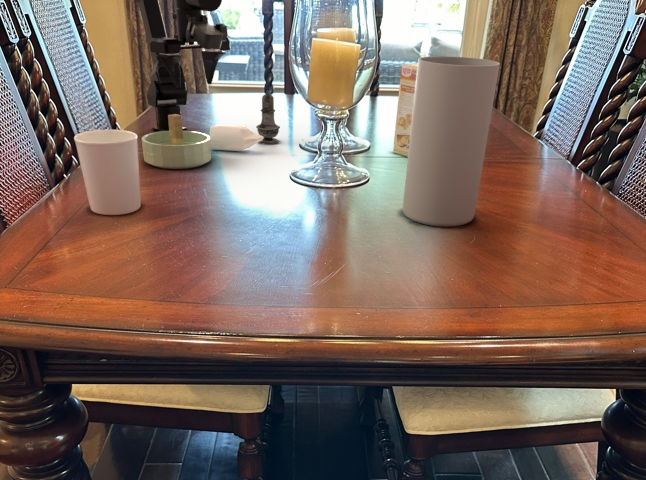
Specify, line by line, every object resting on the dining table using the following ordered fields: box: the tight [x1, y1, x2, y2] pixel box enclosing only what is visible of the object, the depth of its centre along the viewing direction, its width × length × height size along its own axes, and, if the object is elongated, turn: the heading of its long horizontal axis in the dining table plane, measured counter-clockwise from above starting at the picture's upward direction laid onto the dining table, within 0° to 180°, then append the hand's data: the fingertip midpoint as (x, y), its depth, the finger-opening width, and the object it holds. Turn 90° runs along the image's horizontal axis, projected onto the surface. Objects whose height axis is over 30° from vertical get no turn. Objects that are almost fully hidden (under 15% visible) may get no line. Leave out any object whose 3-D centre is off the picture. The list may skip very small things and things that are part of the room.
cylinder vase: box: [402, 55, 501, 228], centre depth 101 cm, size 12×12×25 cm
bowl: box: [141, 130, 212, 170], centre depth 131 cm, size 14×14×5 cm
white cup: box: [73, 129, 142, 216], centre depth 102 cm, size 10×10×12 cm
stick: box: [168, 114, 184, 145], centre depth 130 cm, size 2×2×9 cm
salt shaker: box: [255, 89, 281, 145], centre depth 148 cm, size 6×6×12 cm
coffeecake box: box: [392, 63, 418, 158], centre depth 143 cm, size 15×7×20 cm, turn 131°
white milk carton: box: [208, 124, 264, 152], centre depth 141 cm, size 6×12×6 cm, turn 83°
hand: (194, 85), depth 141 cm, fingers open, 9 cm apart
